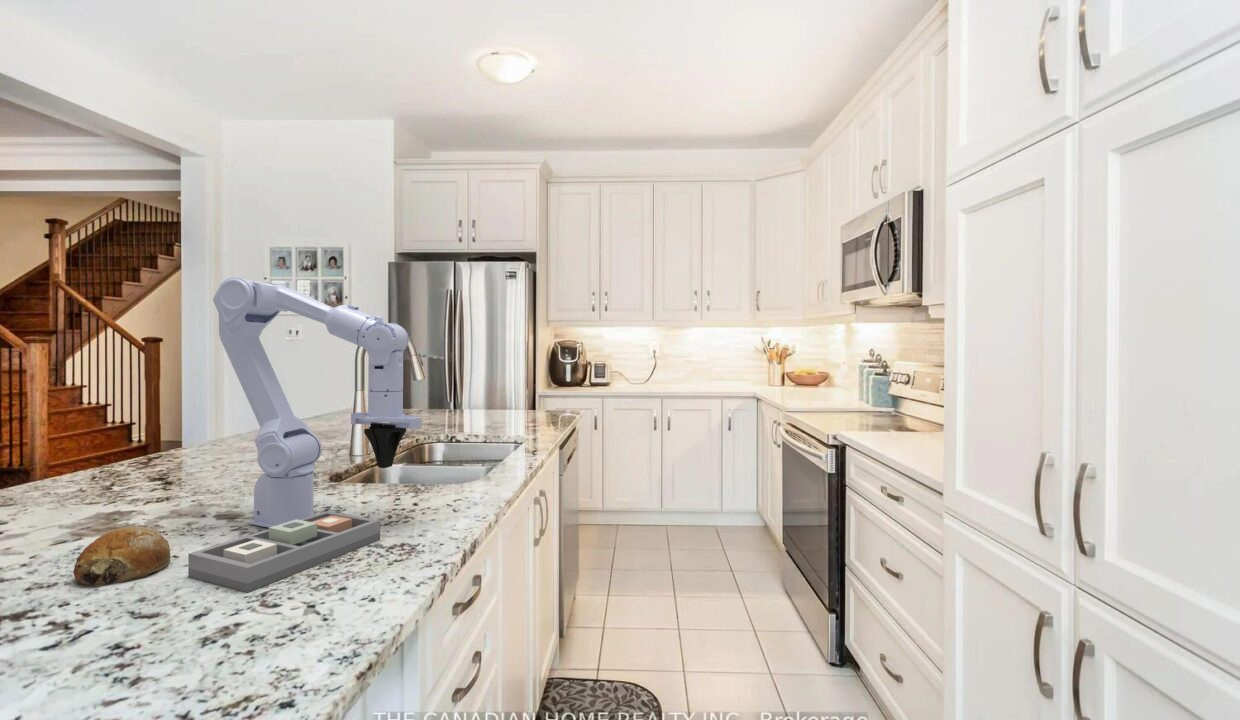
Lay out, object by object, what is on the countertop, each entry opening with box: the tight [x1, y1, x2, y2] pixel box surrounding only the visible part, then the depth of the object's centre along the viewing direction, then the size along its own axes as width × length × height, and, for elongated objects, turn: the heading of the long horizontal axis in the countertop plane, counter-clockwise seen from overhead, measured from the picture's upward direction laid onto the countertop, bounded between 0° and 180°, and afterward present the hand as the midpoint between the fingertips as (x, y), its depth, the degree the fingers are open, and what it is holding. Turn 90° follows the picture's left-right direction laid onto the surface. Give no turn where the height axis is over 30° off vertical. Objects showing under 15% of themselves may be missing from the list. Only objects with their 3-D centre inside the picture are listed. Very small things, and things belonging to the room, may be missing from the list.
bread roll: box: [72, 525, 172, 587], centre depth 78 cm, size 10×10×8 cm
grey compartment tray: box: [187, 510, 381, 593], centre depth 84 cm, size 12×22×3 cm, turn 158°
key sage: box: [268, 519, 317, 545], centre depth 84 cm, size 4×4×2 cm
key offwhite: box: [223, 540, 277, 564], centre depth 78 cm, size 4×4×2 cm
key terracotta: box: [313, 515, 352, 533], centre depth 90 cm, size 4×4×2 cm
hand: (385, 466), depth 100 cm, fingers closed
